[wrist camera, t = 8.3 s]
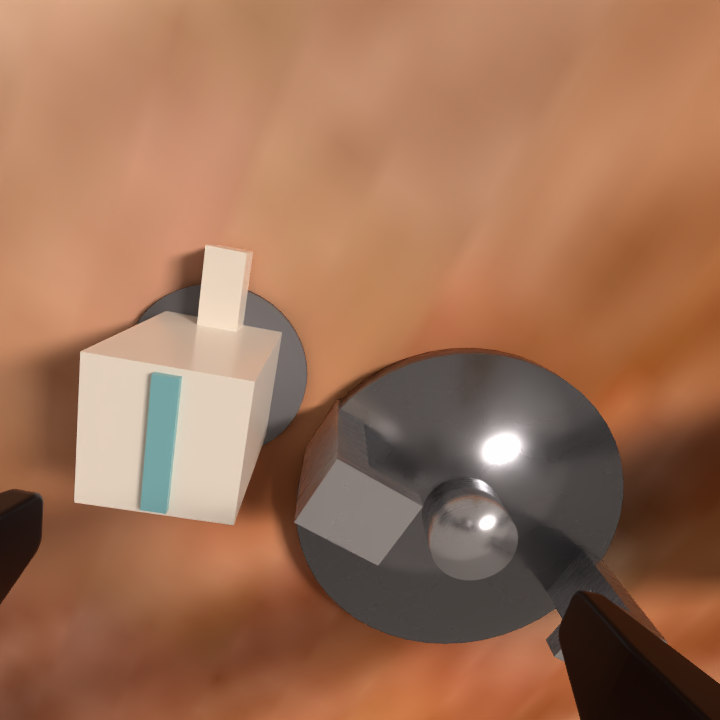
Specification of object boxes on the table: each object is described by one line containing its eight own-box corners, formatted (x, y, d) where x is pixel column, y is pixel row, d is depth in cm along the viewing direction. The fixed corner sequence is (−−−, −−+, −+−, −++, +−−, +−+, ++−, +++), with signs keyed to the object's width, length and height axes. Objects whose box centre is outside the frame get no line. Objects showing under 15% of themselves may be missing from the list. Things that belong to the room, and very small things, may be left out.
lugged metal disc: (240, 545, 21) (209, 646, 16) (415, 281, 18) (445, 302, 13) (485, 666, 23) (525, 785, 18) (674, 452, 20) (782, 524, 15)
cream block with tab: (172, 235, 17) (80, 239, 11) (293, 259, 17) (269, 275, 11) (151, 478, 19) (67, 590, 13) (256, 494, 20) (220, 609, 14)
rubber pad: (249, 250, 17) (247, 251, 17) (337, 404, 19) (337, 408, 19) (93, 335, 18) (88, 338, 18) (193, 476, 20) (190, 481, 19)
